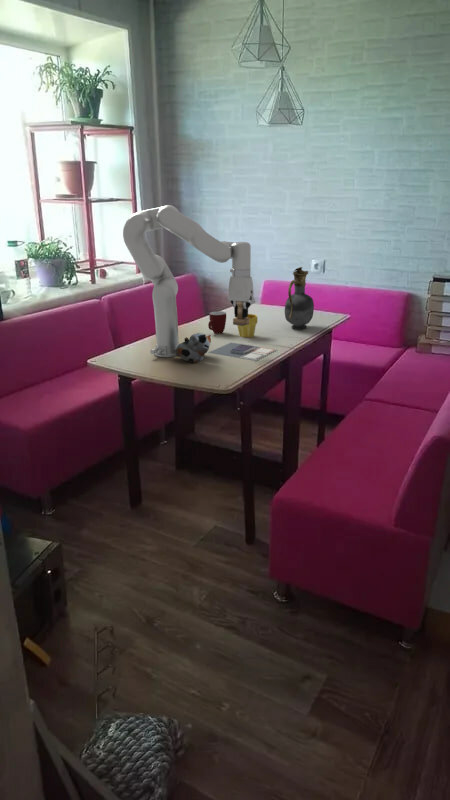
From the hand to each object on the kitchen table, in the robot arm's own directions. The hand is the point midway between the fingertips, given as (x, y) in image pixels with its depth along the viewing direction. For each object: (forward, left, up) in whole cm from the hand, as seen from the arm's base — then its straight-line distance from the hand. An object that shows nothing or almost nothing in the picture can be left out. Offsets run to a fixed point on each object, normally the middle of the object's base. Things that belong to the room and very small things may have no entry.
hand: (241, 316), depth 251 cm
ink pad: (0, 0, -16) cm, 16 cm away
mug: (+20, +27, -16) cm, 37 cm away
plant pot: (+23, +12, -16) cm, 31 cm away
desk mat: (0, 0, -16) cm, 16 cm away
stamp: (0, 0, -3) cm, 3 cm away
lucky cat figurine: (-18, +13, -16) cm, 27 cm away
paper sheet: (0, -8, -16) cm, 18 cm away
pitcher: (+48, -2, -16) cm, 50 cm away
